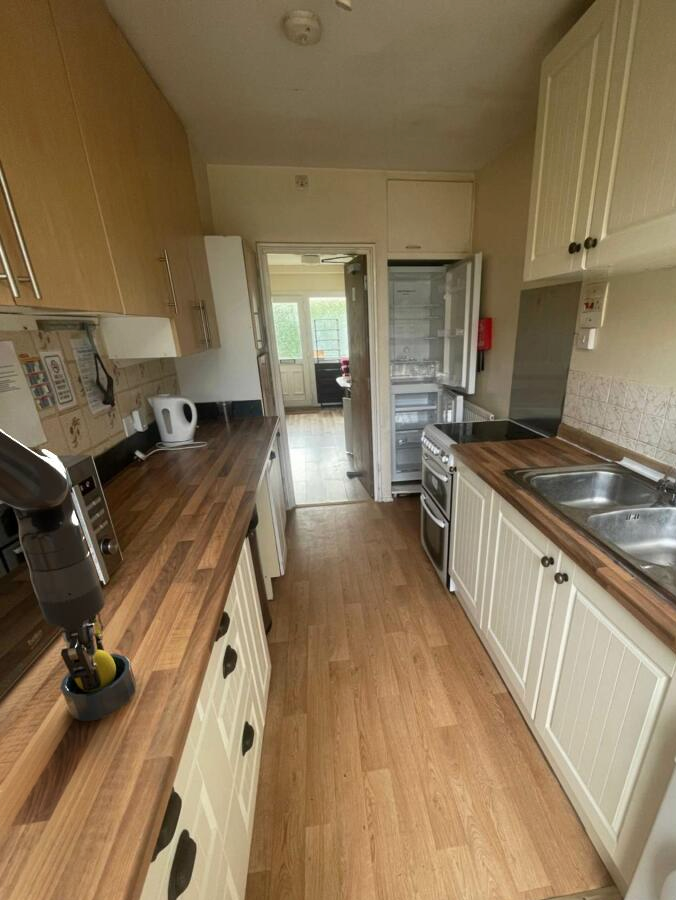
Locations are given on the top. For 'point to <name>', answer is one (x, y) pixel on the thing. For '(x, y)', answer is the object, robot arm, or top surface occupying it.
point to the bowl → (100, 693)
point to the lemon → (102, 670)
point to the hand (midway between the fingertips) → (96, 673)
